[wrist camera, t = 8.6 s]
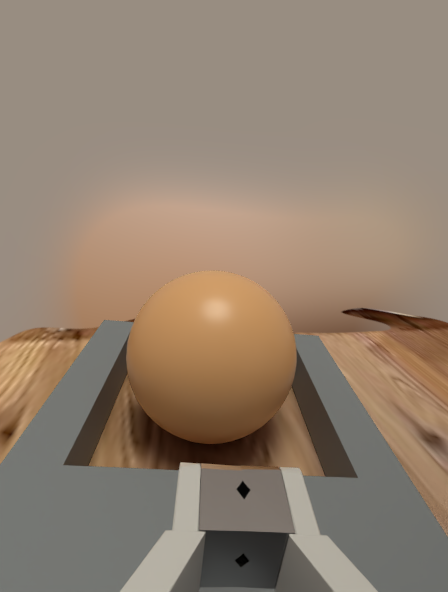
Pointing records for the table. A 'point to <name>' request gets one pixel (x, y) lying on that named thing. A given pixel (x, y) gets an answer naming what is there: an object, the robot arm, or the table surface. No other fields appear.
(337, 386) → the deck
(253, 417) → the ball
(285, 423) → the table surface
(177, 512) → the robot arm
